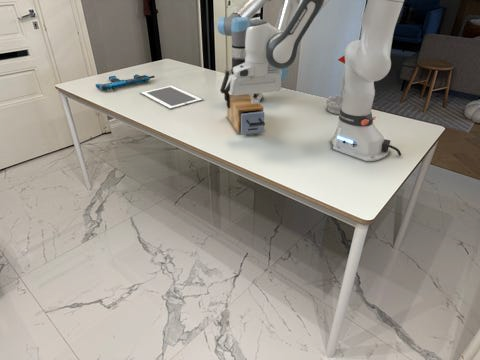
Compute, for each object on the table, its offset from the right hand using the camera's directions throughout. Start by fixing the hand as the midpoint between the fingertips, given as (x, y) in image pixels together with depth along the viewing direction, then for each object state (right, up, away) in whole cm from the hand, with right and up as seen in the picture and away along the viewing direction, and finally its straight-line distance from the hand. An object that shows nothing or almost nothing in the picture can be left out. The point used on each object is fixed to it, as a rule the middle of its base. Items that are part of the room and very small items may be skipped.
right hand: (255, 103), depth 135 cm
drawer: (-2, -7, +15) cm, 17 cm away
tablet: (-44, +15, +52) cm, 70 cm away
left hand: (-6, +4, +22) cm, 23 cm away
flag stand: (+43, +4, +35) cm, 56 cm away
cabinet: (-4, -5, +21) cm, 22 cm away
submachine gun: (-77, +29, +72) cm, 109 cm away
